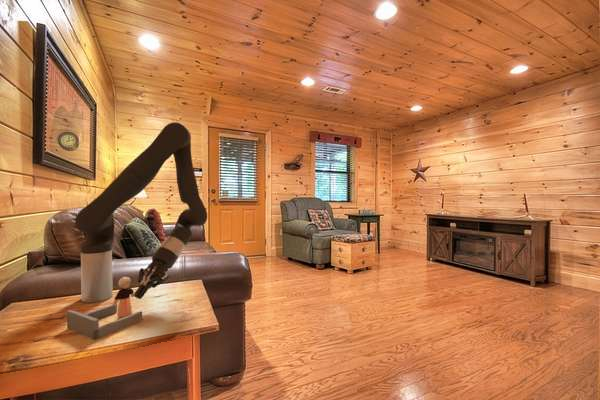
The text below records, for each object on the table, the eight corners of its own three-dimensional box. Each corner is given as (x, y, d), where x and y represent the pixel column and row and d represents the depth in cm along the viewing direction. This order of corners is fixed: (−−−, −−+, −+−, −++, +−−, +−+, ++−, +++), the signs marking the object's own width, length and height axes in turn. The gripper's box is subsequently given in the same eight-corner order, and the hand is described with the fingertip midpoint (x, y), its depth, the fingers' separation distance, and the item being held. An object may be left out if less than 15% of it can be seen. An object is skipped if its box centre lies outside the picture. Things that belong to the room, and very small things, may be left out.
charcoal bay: (67, 328, 80) (66, 310, 80) (115, 311, 92) (114, 296, 92) (94, 339, 74) (94, 320, 74) (142, 320, 85) (142, 303, 85)
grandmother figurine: (123, 323, 83) (123, 280, 83) (110, 323, 83) (110, 280, 83) (138, 312, 91) (138, 273, 91) (126, 312, 91) (126, 273, 91)
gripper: (149, 244, 102) (115, 289, 92) (175, 247, 96) (141, 295, 86) (163, 256, 107) (132, 299, 96) (188, 259, 101) (158, 306, 90)
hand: (136, 297), depth 91 cm, fingers closed
